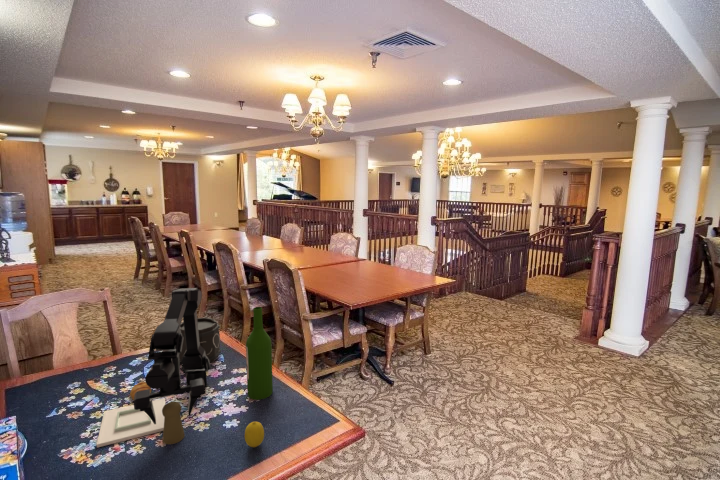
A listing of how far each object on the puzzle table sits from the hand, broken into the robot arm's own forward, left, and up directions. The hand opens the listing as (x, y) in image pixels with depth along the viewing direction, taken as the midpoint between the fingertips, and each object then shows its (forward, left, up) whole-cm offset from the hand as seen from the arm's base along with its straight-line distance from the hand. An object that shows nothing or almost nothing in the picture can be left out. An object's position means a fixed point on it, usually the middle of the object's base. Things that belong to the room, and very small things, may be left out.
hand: (172, 419), depth 115 cm
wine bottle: (-29, -13, -6) cm, 32 cm away
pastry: (+9, -30, -6) cm, 32 cm away
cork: (0, 0, -6) cm, 6 cm away
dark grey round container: (-12, -53, -6) cm, 55 cm away
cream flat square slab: (+11, -14, -6) cm, 19 cm away
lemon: (-21, +15, -6) cm, 27 cm away
